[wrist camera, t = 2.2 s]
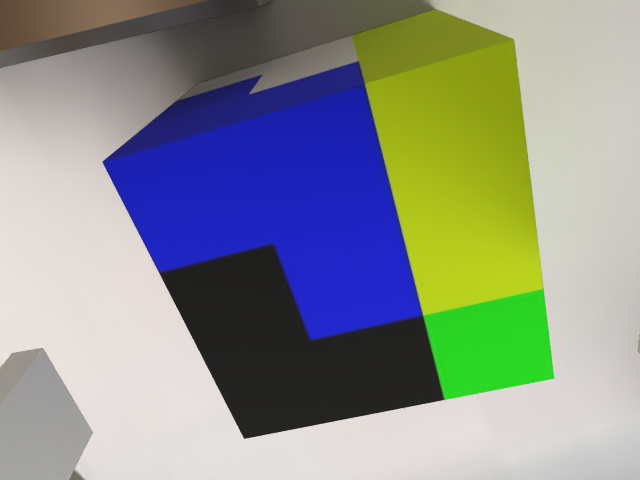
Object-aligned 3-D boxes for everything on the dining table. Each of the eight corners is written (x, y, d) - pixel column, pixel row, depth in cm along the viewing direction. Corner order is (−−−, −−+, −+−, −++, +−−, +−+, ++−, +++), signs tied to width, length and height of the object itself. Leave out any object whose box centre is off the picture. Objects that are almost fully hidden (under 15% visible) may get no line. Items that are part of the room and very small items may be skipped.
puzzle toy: (198, 83, 22) (101, 161, 13) (434, 9, 20) (514, 39, 11) (275, 278, 26) (244, 438, 17) (474, 230, 24) (554, 378, 16)
